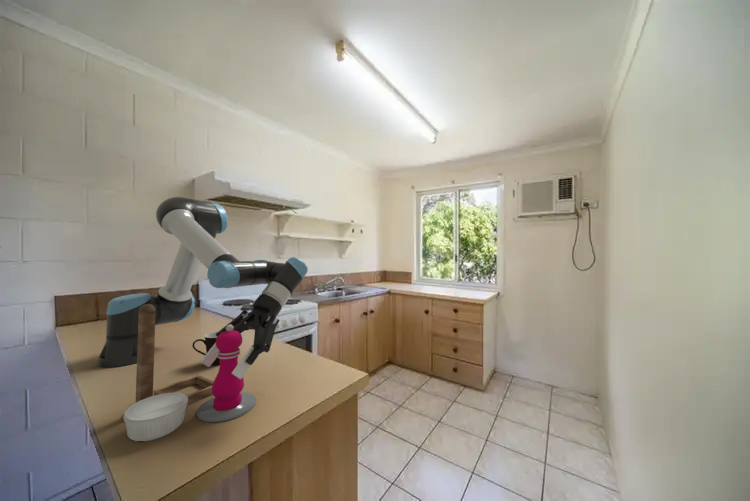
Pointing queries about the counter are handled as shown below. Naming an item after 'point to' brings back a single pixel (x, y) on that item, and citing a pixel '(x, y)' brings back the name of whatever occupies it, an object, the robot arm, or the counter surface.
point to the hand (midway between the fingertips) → (219, 370)
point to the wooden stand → (147, 363)
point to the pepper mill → (228, 371)
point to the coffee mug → (209, 345)
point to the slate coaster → (212, 415)
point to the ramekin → (155, 416)
